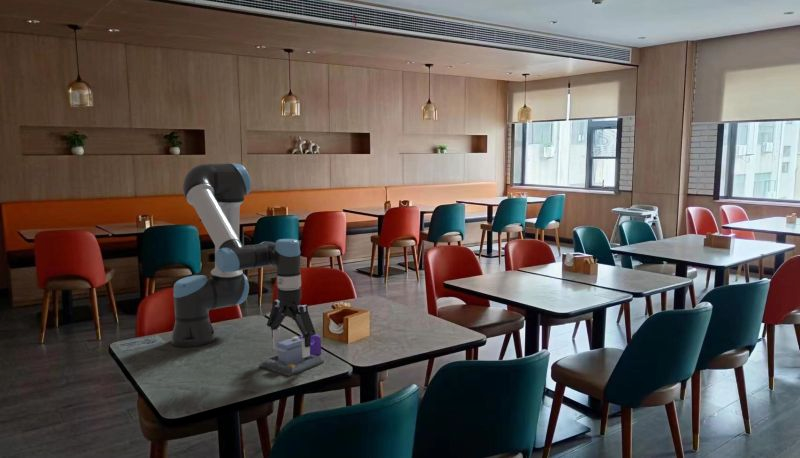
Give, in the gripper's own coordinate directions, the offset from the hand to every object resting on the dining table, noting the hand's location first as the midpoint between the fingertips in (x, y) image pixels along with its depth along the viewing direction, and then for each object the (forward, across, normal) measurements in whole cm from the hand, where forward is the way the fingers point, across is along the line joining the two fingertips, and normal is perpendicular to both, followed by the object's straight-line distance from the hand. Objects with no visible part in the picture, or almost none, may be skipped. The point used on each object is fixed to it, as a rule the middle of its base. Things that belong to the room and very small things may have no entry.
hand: (291, 352), depth 194 cm
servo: (+3, 0, 0) cm, 3 cm away
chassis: (+4, 0, 0) cm, 4 cm away
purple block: (+5, -6, +14) cm, 16 cm away
